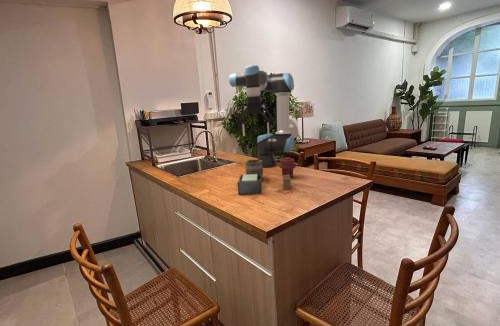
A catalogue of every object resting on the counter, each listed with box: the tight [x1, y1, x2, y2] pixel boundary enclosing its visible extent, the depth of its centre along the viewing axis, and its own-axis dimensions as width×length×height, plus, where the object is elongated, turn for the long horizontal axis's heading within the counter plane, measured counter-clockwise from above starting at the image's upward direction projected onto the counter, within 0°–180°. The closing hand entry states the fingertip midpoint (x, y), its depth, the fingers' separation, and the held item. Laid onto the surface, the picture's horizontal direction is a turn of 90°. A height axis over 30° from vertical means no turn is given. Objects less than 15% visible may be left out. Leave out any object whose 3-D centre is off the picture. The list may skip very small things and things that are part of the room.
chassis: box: [236, 174, 263, 196], centre depth 148 cm, size 16×12×6 cm
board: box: [242, 174, 258, 182], centre depth 147 cm, size 12×8×2 cm, turn 177°
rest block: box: [282, 175, 292, 191], centre depth 148 cm, size 8×4×6 cm, turn 177°
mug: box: [244, 159, 264, 182], centre depth 167 cm, size 16×11×12 cm
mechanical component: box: [278, 156, 296, 179], centre depth 166 cm, size 12×10×10 cm
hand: (256, 135), depth 151 cm, fingers open, 13 cm apart
